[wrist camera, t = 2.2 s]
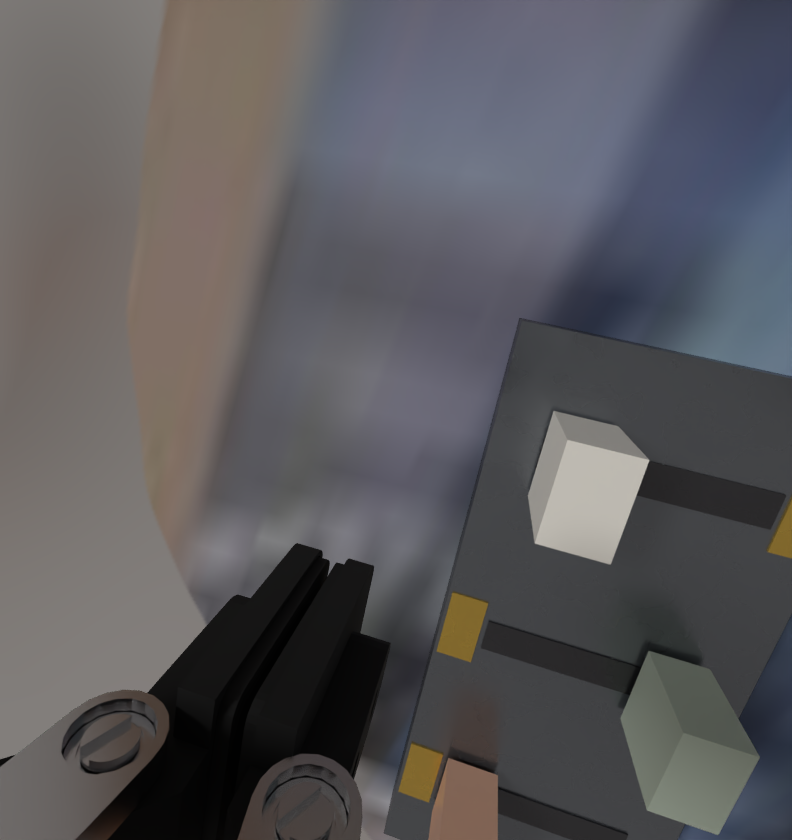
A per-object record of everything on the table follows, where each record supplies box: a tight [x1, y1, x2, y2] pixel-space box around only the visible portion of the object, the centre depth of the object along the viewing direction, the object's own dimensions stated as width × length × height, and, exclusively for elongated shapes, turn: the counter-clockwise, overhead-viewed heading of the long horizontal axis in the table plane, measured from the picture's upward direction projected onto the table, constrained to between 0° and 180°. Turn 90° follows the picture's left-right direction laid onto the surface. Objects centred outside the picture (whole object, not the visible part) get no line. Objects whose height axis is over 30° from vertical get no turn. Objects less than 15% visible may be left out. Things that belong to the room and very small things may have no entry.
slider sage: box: [620, 651, 760, 835], centre depth 23 cm, size 3×4×5 cm, turn 168°
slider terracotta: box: [428, 758, 498, 840], centre depth 27 cm, size 3×4×5 cm, turn 168°
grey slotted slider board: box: [384, 318, 792, 840], centre depth 28 cm, size 16×34×3 cm, turn 168°
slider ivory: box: [528, 411, 649, 565], centre depth 21 cm, size 3×4×5 cm, turn 168°
